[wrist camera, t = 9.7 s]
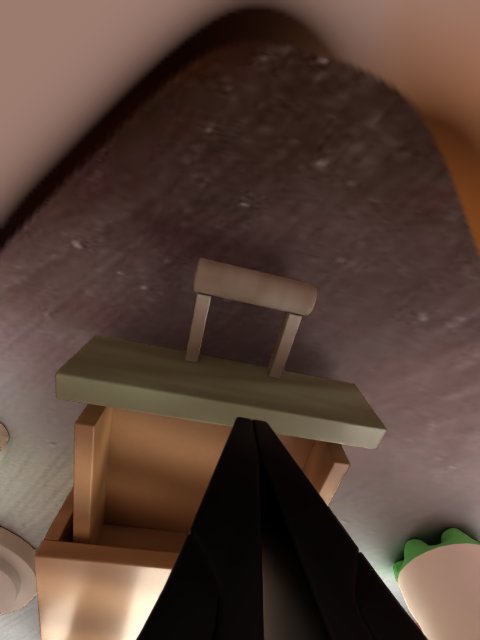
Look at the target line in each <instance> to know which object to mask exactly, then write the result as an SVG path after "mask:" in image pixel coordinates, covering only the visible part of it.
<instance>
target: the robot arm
mask: <svg viewBox="0 0 480 640" xmlns="http://www.w3.org/2000/svg"><path fill="white" fill-rule="evenodd" d="M136 640H428V639H427V637H426V636H425V635H424V634H423V632H422V631H421V630H420V629H419V628H418V626H417V625H416V624H415V622H414V621H413V620H412V619H411V617H410V616H409V615H408V614H407V612H406V611H405V610H404V609H403V607H402V606H401V605H400V603H399V602H398V601H397V599H396V598H395V597H394V595H393V594H392V593H391V591H390V590H389V589H388V587H387V586H386V585H385V583H384V582H383V581H382V579H381V578H380V577H379V575H378V574H377V573H376V571H375V570H374V569H373V567H372V566H371V564H370V563H369V562H368V560H367V559H366V558H365V556H364V555H363V554H362V553H361V552H359V549H358V547H357V545H356V544H355V543H354V541H353V540H352V538H351V537H350V536H349V534H348V533H347V532H346V530H345V529H344V527H343V526H342V525H341V523H340V522H339V521H338V519H337V518H336V516H335V515H334V514H333V512H332V511H331V509H330V508H329V507H328V505H327V504H326V503H325V501H324V500H323V498H322V497H321V496H320V494H319V493H318V492H317V490H316V489H315V487H314V486H313V485H312V483H311V482H310V480H309V479H308V478H307V476H306V475H305V474H304V472H303V471H302V469H301V468H300V467H299V465H298V464H297V463H296V461H295V460H294V458H293V457H292V456H291V454H290V453H289V451H288V450H287V449H286V447H285V446H284V445H283V443H282V442H281V440H280V439H279V438H278V436H277V435H276V434H275V432H274V431H273V429H272V428H271V427H270V425H269V424H268V423H267V422H266V421H262V420H256V419H253V420H251V419H249V418H244V417H237V418H236V420H235V422H234V425H233V427H232V429H231V432H230V434H229V437H228V439H227V441H226V444H225V446H224V448H223V451H222V453H221V456H220V458H219V460H218V463H217V465H216V467H215V470H214V472H213V475H212V477H211V479H210V482H209V484H208V486H207V489H206V491H205V494H204V496H203V498H202V501H201V503H200V505H199V508H198V510H197V513H196V515H195V517H194V520H193V522H192V524H191V527H190V529H189V532H188V534H187V536H186V538H185V540H184V543H183V545H182V548H181V550H180V552H179V555H178V557H177V559H176V561H175V564H174V566H173V568H172V570H171V572H170V574H169V577H168V579H167V581H166V583H165V585H164V588H163V590H162V592H161V594H160V595H159V597H158V599H157V601H156V603H155V605H154V607H153V609H152V611H151V613H150V615H149V616H148V618H147V620H146V622H145V624H144V626H143V628H142V630H141V632H140V634H139V635H138V637H137V639H136Z"/></svg>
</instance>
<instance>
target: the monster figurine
mask: <svg viewBox="0 0 480 640" xmlns="http://www.w3.org/2000/svg"><path fill="white" fill-rule="evenodd" d="M35 553H36V551H35V550H34V549H33V548H32V547H31V546H30V545H29V544H28V543H27V542H25V541H24V540H22V539H21V538H20V537H18V536H17V535H15V534H13V533H11V532H10V531H8V530H6V529H4V528H1V527H0V615H4V614H8V613H11V612H14V611H17V610H19V609H21V608H23V607H24V606H26V605H27V604H28V603H30V602H31V600H32V599H33V598H34V597H35V595H36V593H37V585H36V572H35V560H34V555H35Z"/></svg>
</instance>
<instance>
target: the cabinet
mask: <svg viewBox="0 0 480 640" xmlns="http://www.w3.org/2000/svg"><path fill="white" fill-rule="evenodd" d="M73 504H74V486H73V488H72V489H71V491H70V493H69V495H68V496H67V498H66V500H65V502H64V503H63V505H62V507H61V509H60V511H59V512H58V514H57V516H56V518H55V519H54V521H53V523H52V525H51V527H50V528H49V530H48V532H47V534H46V535H45V537H44V540H43V541H42V543H41V545H40V546H39V548H38V550H37V552H36V553H35V555H34V560H35V572H36V585H37V598H38V610H39V623H40V636H41V640H136V639H137V637H138V635H139V634H140V632H141V630H142V628H143V626H144V624H145V622H146V620H147V618H148V616H149V615H150V613H151V611H152V609H153V607H154V605H155V603H156V601H157V599H158V597H159V595H160V594H161V592H162V590H163V588H164V585H165V583H166V581H167V579H168V577H169V574H170V572H171V570H172V568H173V566H174V564H175V561H176V559H177V557H178V555H179V553H172V552H162V551H152V550H142V549H132V548H122V547H112V546H101V545H91V544H81V543H73Z"/></svg>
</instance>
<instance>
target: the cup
mask: <svg viewBox="0 0 480 640" xmlns="http://www.w3.org/2000/svg"><path fill="white" fill-rule="evenodd" d="M404 556H405V557H404V560H401V561H398V562H396V563H395V564H394V566H393V571H394V575H395V579H396V581H397V583H398V586H399V589H400V591H401V593H402V595H403V598H404V600H405V602H406V604H407V607H408V609H409V611H410V612H411V614H412V616H413V617H414V618H415V620H416V621H417V622H418V624H419V625H420V626H421V629H422V631H423V633H424V635H425V636H426V637H427V639H428V640H480V542H479V541H475V540H474V539H472V538H470V537H469V536H467V535H466V534H464V533H463V532H461V531H460V530H459V529H456V528H449V529H447V530H445V531H444V532H443V534H442V536H441V544H438V545H433V546H429V545H427V544H426V543H424V542H423V541H421V540H417V539H411V540H409V541H407V542H406V544H405V549H404Z"/></svg>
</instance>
